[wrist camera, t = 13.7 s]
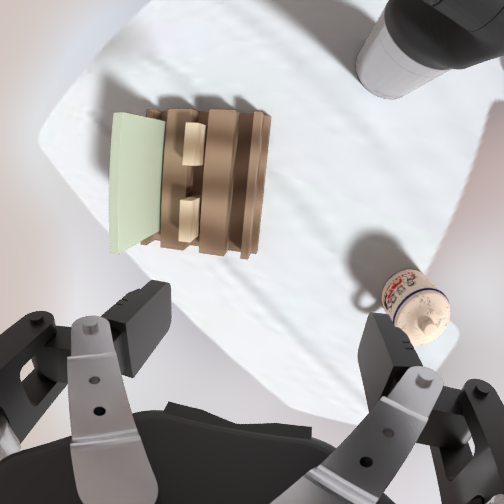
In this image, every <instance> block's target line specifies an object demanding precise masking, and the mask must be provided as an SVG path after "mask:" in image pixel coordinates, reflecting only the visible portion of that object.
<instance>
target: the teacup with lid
mask: <svg viewBox="0 0 504 504" xmlns="http://www.w3.org/2000/svg"><path fill="white" fill-rule="evenodd" d="M382 305H383V307H384V309H385V311H386V313H387V314H389V316H390V318H391V320H392V322H393V324H394V326H395V327H399V328H400V329H401V330H403V331H404V332H405V333H406V334H407V335H408V337H409V339H410V341H411V343H412V345H413V346H422V345H425V344H428V343H430V342H432V341H433V340H435V339H436V338H437V337H438V336H439V335H440V334H441V333H442V332H443V331H444V329H445V328H446V326H447V324H448V321H449V317H450V305H449V302H448V299H447V297H446V296H445V295H444V294H443V293H442V292H441V291H439V290H437V288H436V287H435V286H434V285H433V284H432V283H431V282H430V281H429V280H428V279H427V278H426V277H425V276H424V275H423V274H422V273H421V272H419V271H416V270H412V269H408V270H403V271H400V272H398V273H396V274H394V275H393V276H392V277H391V278H390V279H389V280H388V281H387V283H386V284H385V286H384V288H383V291H382Z"/></svg>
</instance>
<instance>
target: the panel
mask: <svg viewBox="0 0 504 504" xmlns="http://www.w3.org/2000/svg"><path fill="white" fill-rule="evenodd" d="M166 126H167V122H165V121H161V120H157V119H152V118H148V117H143V116H139V115H134V114H129V113H124V112H119V113H114V114H113V124H112V136H111V151H110V172H109V238H110V253H114V254H120V253H121V252H123V251H125V250H127V249H128V248H130V247H132V246H134V245H135V244H137V243H139V242H141V241H142V240H144V239H146V238H148V237H150V236H151V235H153V234H155V233H157V232H159V231H160V230H161V204H162V181H163V164H164V150H165V138H166Z"/></svg>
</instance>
